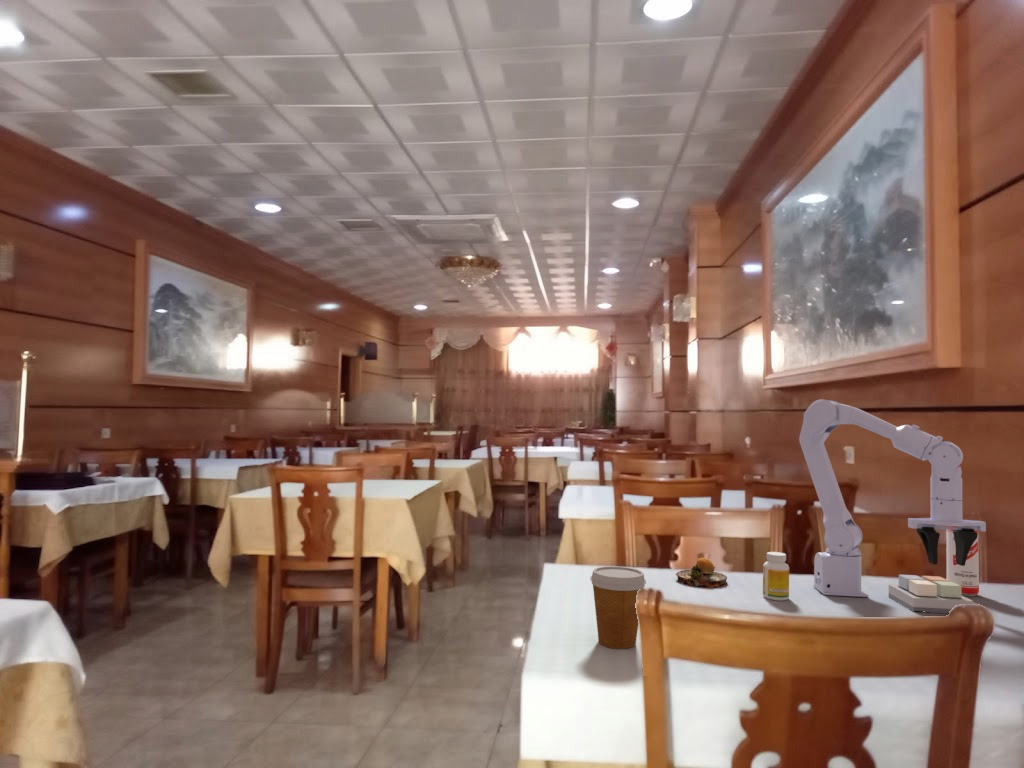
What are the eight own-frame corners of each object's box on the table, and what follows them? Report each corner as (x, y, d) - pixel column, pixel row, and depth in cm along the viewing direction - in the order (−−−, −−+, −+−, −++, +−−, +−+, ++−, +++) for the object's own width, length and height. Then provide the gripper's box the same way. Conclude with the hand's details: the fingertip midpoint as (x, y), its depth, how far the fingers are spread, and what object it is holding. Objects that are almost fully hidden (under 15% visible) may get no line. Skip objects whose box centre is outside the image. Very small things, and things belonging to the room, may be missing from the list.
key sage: (941, 596, 141) (941, 585, 141) (932, 592, 144) (932, 580, 144) (961, 597, 140) (961, 586, 140) (951, 593, 144) (951, 581, 144)
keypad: (913, 611, 140) (913, 598, 140) (888, 597, 151) (888, 584, 151) (973, 615, 138) (973, 601, 138) (943, 599, 150) (943, 587, 150)
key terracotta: (930, 591, 145) (930, 579, 145) (921, 586, 149) (921, 575, 149) (949, 592, 145) (949, 580, 145) (940, 587, 149) (940, 576, 149)
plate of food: (714, 576, 168) (714, 546, 169) (736, 588, 157) (736, 556, 157) (668, 576, 167) (668, 546, 167) (687, 589, 155) (687, 556, 156)
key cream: (917, 595, 141) (917, 583, 141) (908, 591, 145) (908, 579, 145) (936, 596, 141) (936, 584, 141) (927, 591, 144) (927, 580, 145)
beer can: (984, 598, 152) (983, 526, 153) (953, 596, 154) (953, 524, 154) (971, 591, 159) (970, 522, 159) (941, 589, 160) (941, 520, 161)
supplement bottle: (757, 595, 150) (757, 551, 150) (777, 593, 152) (777, 550, 152) (774, 601, 145) (775, 556, 145) (794, 600, 147) (794, 555, 147)
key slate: (906, 589, 146) (906, 578, 146) (898, 585, 150) (898, 574, 150) (925, 590, 145) (925, 579, 146) (916, 586, 149) (916, 575, 149)
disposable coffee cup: (597, 630, 122) (598, 563, 122) (650, 638, 118) (651, 569, 119) (582, 647, 113) (583, 574, 114) (638, 656, 109) (640, 580, 110)
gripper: (919, 500, 140) (919, 566, 139) (994, 502, 138) (994, 570, 138) (903, 496, 147) (903, 559, 146) (974, 498, 145) (975, 562, 145)
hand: (946, 564), depth 143 cm, fingers open, 5 cm apart
